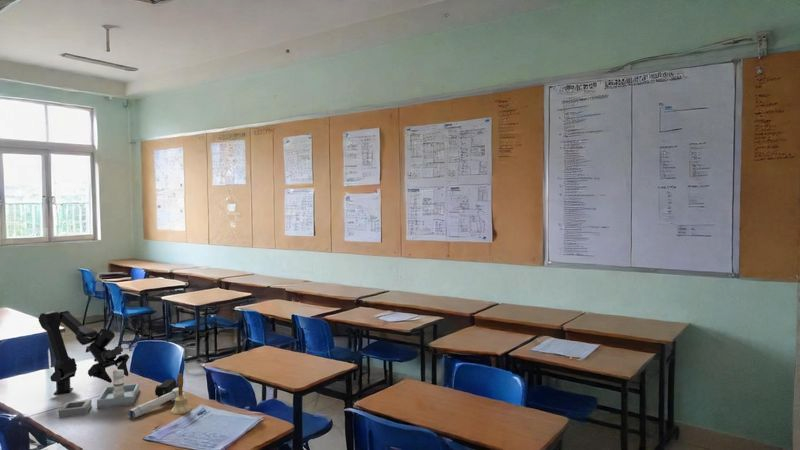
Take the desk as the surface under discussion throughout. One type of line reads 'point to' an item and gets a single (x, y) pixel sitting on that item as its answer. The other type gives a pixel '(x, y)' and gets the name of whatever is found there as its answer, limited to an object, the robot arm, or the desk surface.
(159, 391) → the digital camera
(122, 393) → the light bulb
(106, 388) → the tray
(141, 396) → the desk surface
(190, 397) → the desk surface
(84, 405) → the socket block
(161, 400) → the white long bar
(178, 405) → the hand bell
